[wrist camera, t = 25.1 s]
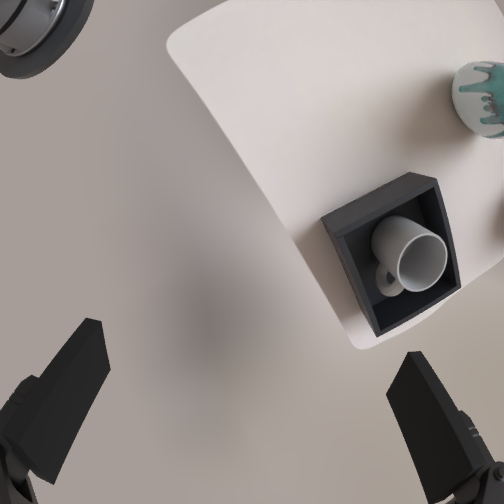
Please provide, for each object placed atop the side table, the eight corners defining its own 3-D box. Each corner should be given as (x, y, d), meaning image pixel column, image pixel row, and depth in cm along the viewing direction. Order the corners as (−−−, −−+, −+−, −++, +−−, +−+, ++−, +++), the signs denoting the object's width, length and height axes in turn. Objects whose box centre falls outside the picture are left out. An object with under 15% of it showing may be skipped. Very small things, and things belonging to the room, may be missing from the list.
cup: (422, 229, 37) (456, 250, 29) (386, 286, 40) (411, 318, 32) (387, 204, 36) (419, 221, 28) (349, 266, 39) (371, 297, 31)
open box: (320, 217, 38) (333, 232, 32) (410, 171, 36) (436, 178, 29) (362, 311, 43) (376, 337, 36) (438, 268, 40) (461, 287, 34)
